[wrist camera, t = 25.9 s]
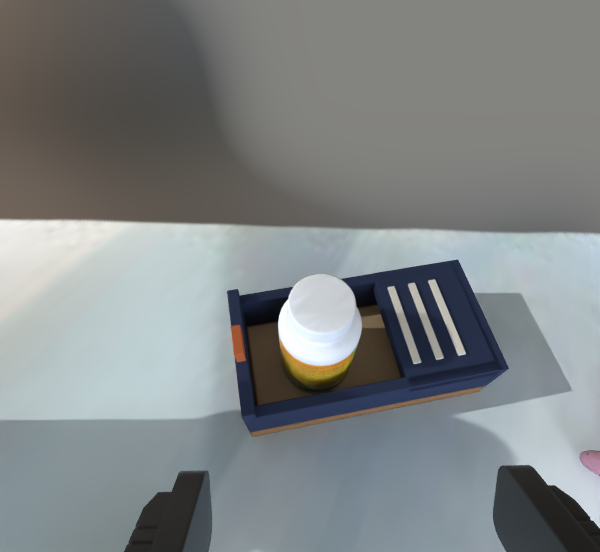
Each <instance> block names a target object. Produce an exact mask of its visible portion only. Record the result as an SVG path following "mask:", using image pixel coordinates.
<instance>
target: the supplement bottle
mask: <svg viewBox="0 0 600 552" xmlns="http://www.w3.org/2000/svg"><path fill="white" fill-rule="evenodd" d="M361 330H362V321H361V316H360V313H359V310H358V308H357V306H356V300H355V296H354V294H353V292H352V290H351V288H350V287H349V286H348V285H347V284H346V283H345V282H344V281H342V280H341V279H339V278H337V277H335V276H332V275H328V274H315V275H310V276H308V277H305V278H303V279H302V280H300V281H299V282H298V283H297V284H296V285H295V286H294V287H293V289H292V290H291V292H290V295H289V298H288V300H287V301H286V302H285V304H284V305H283V307H282V309H281V312H280V315H279V321H278V331H279V342H280V354H281V363H282V367H283V370H284V373H285V375H286V376H287V378H288V379H289V380H290V382H291V383H292V384H293V385H295V386H296V387H297V388H299V389H301V390H303V391H306V392H310V393H323V392H327V391H330V390H332V389H334V388H336V387H337V386H339V385H340V384H341V383H342V382H343V381H344V379H345V378H346V376H347V374H348V372H349V370H350V367H351V364H352V360H353V357H354V354H355V351H356V348H357V345H358V342H359V339H360V336H361Z"/></svg>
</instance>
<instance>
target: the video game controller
mask: <svg viewBox="0 0 600 552" xmlns="http://www.w3.org/2000/svg"><path fill="white" fill-rule="evenodd" d="M580 460H581V462H582V463H583V464H584V466H586V467H587V468H588V469H590V470H591V471H592V472H594V473H596V474H598V475H599V476H600V451H584V452H582V453H581V454H580Z"/></svg>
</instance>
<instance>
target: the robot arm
mask: <svg viewBox="0 0 600 552" xmlns="http://www.w3.org/2000/svg"><path fill="white" fill-rule="evenodd" d="M493 520H494V525H495V529H496V532H497V535H498V537H499V539H500V541H501V543H502V545H503V546H504V548H505V550H506V552H600V528H599V527H598V526H597V525H596V524H595V523H594V521H591V520H590V517H589V516H588V514H587V513H586V512H585V511H584V510H583V509H582V508H581V506H580V505H579V504H578V503H577V502H576V501H575V500H574V499H573V498H571V497H570V496H569V495H567V494H566V493H564V492H563V491H562V490H560V489H559V488H557V487H556V486H555V485H552V486H548V485H547V484H546V482H545V481H544V480H543V479H542V478H541V476H540V475H539V474H538V473H537V471H536V470H535V469H534V468H533V467H532V466H530V465H516V466H501V467H500V468H499V470H498V475H497V483H496V491H495V500H494V508H493ZM211 533H212V508H211V494H210V479H209V472H208V471H180V472H179V474H178V477H177V479H176V482H175V484H174V487H173V490H172V492H158V493H157V494H156V495H155V496H154V497H153V499H152V500H151V501H150V502H149V503H148V504H147V505H146V506H145V507H144V508H143V510H142V513H141V515H140V517H139V519H138V522H137V524H136V528H135V529H134V531H133V533H132V535H131V537H130V540H129V544H128V545H127V546H126V549H125V551H124V552H208V550H209V546H210V541H211Z"/></svg>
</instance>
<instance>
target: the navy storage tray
mask: <svg viewBox="0 0 600 552" xmlns="http://www.w3.org/2000/svg"><path fill="white" fill-rule="evenodd" d="M341 280H342V281H344V282H345V283H346V284H347V285H348V286H349V287H350V288H351V290H352V292H353V294H354V296H355V300H356V306H357V308H358V310H359V313H360V316H361V321H362V330H361V336H360V339H359V342H358V345H357V348H356V351H355V354H354V357H353V360H352V364H351V367H350V370H349V372H348V374H347V376H346V378H345V379H344V381H343V382H342V383H341V384H340V385H339V386H337V387H336V388H334V389H332V390H330V391H327V392H323V393H310V392H306V391H303V390H301V389H299V388H297V387H296V386H295V385H293V384H292V383H291V382H290V380H289V379H288V378H287V376H286V375H285V373H284V370H283V367H282V363H281V354H280V342H279V331H278V321H279V315H280V312H281V309H282V307H283V305H284V304H285V302H286V301H287V300H288V298H289V295H290V292H291V290H292V289H293V287H290V288H284V289H278V290H271V291H265V292H259V293H253V294H247V295H241V296H240V295H239V291H238V289H235V290H229V291H227V294H228V303H229V312H230V320H231V332H232V341H233V349H234V356H235V363H236V372H237V380H238V389H239V398H240V406H241V415H242V418H243V420H244V422H245V424H246V426H247V428H248V430H249V432H250V434H251V436H252V437H253V436H258V435H263V434H268V433H273V432H278V431H283V430H288V429H293V428H298V427H303V426H308V425H313V424H318V423H323V422H328V421H333V420H338V419H343V418H348V417H353V416H358V415H363V414H368V413H373V412H378V411H383V410H388V409H393V408H398V407H403V406H408V405H413V404H418V403H423V402H428V401H433V400H438V399H443V398H448V397H453V396H458V395H463V394H468V393H473V392H478V391H480V390H481V389H482V388H484V387H485V386H486V385H488V384H489V383H490V382H492V381H493V380H494V379H496V378H497V377H498V376H500V375H501V374H502V373H504V372H505V371H506V370H508V369H509V368H508V366H507V364H506V361H505V359H504V357H503V355H502V353H501V351H500V349H499V346H498V344H497V342H496V340H495V338H494V336H493V334H492V331H491V329H490V327H489V325H488V323H487V321H486V319H485V316H484V314H483V312H482V310H481V308H480V306H479V304H478V301H477V299H476V297H475V295H474V293H473V291H472V288H471V286H470V284H469V282H468V280H467V278H466V276H465V273H464V271H463V269H462V267H461V265H460V263H459V261H458V260H452V261H446V262H440V263H434V264H428V265H422V266H416V267H410V268H404V269H398V270H392V271H386V272H379V273H373V274H369V275H363V276H356V277H350V278H344V279H341Z"/></svg>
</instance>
